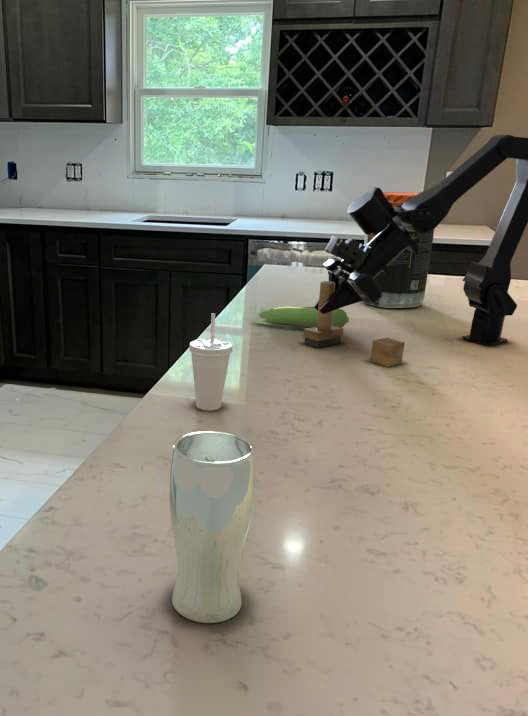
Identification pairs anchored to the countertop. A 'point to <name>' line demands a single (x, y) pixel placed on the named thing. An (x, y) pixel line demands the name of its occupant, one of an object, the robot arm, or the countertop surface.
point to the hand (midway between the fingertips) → (318, 310)
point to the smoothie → (210, 369)
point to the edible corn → (300, 317)
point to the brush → (323, 322)
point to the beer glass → (210, 521)
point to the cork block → (387, 352)
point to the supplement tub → (404, 266)
